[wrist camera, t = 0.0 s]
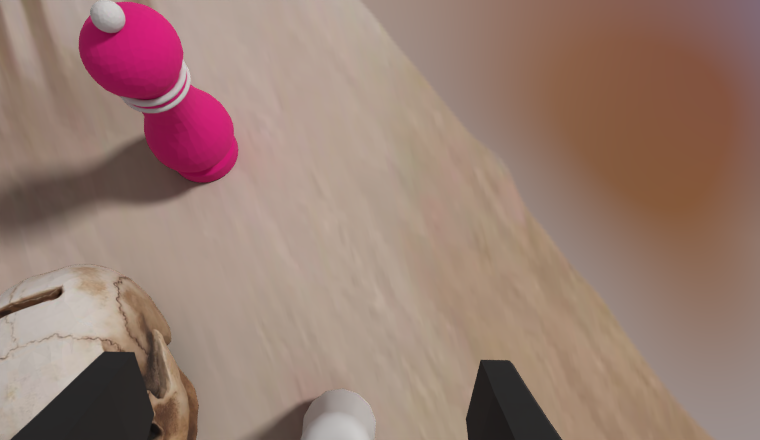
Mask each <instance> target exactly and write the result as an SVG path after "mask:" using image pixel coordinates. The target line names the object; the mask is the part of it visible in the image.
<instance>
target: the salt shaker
mask: <svg viewBox="0 0 760 440" xmlns="http://www.w3.org/2000/svg"><path fill="white" fill-rule="evenodd" d="M375 427H376V420H375V418H374V415H373V412H372V410H371V407H370V405H369V404H368V403H367V402H366V401H365V400H364V399H363V398H362V397H361V396H360V395H359V394H358V393H355V392H352V391H349V390H345V389H337V390H331V391H326V392H325V393H323V394H322V395H321V396H319V397H318V398H316V399H315V400H314V401H312V403H311V405H310V407H309V408H308V410H307V412H306V413H305V415H304V418H303V429H302V437H301V440H374V439H375Z"/></svg>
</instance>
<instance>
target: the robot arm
mask: <svg viewBox="0 0 760 440" xmlns="http://www.w3.org/2000/svg"><path fill="white" fill-rule="evenodd" d="M153 417H154V411H153V408H152V405H151V402H150V399H149V395H148V392H147V389H146V386H145V383H144V380H143V377H142V374H141V371H140V368H139V365H138V362H137V359H136V356H135V353H134V352H110V351H104V352H103V353H102V354H101V355H99V356H98V357H97V358H96V359H95V360H94V361H93V362H92V363H91V364H90V365H89V366H88V367H87V368H86V369H84V370H83V371H82V372H81V373H80V374H79V375H78V376H77V377H76V378H75V379H74V380H73V381H72V382H71V383H70V384H69V385H68V386H67V387H66V388H65V389H64V390H63V391H61V392H60V393H59V394H58V395H57V396H56V397H55V398H54V399H53V400H52V401H51V402H50V403H49V404H48V405H47V406H46V407H45V408H44V409H43V410H41V411H40V412H39V413H38V414H37V415H36V416H35V417H34V418H33V419H32V420H31V421H30V422H29V423H27V424H26V425H25V426H24V427H23V428H22V429H21V430H20V431H19V432H18V433H17V434H16V435H14V436H13V437H12V438H11V439H10V440H147V438H148V434H149V431H150V427H151V424H152V421H153ZM466 424H467V432H468V440H562V439H561V437H560V436H559V434H558V433H557V432H556V430H555V429H554V427H553V426H552V424H551V423H550V421H549V420H548V418H547V417H546V415H545V414H544V412H543V411H542V409H541V408H540V406H539V405H538V403H537V402H536V400H535V399H534V397H533V396H532V394H531V392H530V391H529V389H528V388H527V386H526V385H525V383H524V381H523V380H522V378H521V377H520V375H519V373H518V372H517V370H516V368H515V367H514V365H513V364H512V363H511V362H510V361H508V360H481V361H480V365H479V369H478V373H477V377H476V381H475V385H474V389H473V393H472V397H471V401H470V405H469V409H468V413H467V417H466Z"/></svg>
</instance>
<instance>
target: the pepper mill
mask: <svg viewBox="0 0 760 440" xmlns="http://www.w3.org/2000/svg"><path fill="white" fill-rule="evenodd" d="M79 52H80V57H81V59H82V62H83V64H84V66H85V68H86V70H87V71H88V73H89V74H90V75H91V77H92V78H93V79H94V80H95V81H96V82H97V83H98V84H99V85H101V86H102V87H103V88H104V89H106V90H107V91H109V92H111V93H113V94H116V95H118V96H120V97H121V98H122V99H123V101H124V102H125V103H126V104H127V105H128V106H130V107H131V108H133V109H135V110H137V111H139V112H142V113H143V114H144V116H145V117H144V132H145V136H146V140H147V143H148V146H149V147H150V149H151V151H152V152H153V153H154V155H155V156H156V157H157V159H158V160H159V161H160V162H162V163H163V164H164V165H166V166H167V167H169V168H171V169H174V170H176V171H178V173H179V174H180V175H182V176H183V177H184V178H186V179H188V180H190V181H194V182H211V181H215V180H217V179H220V178H221V177H223V176H224V175H226V174H227V173H228V172H229V171H230V170H231V169H232V167H233V166H234V164H235V162H236V160H237V156H238V145H237V141H236V139H235V137H234V128H233V123H232V121H231V118H230V116H229V114H228V113H227V111H226V110H225V108H224V107H223V106H222V104H221V103H220V102H219V101H217V100H216V99H215V98H214V97H212V96H211V95H210V94H208V93H206V92H204V91H202V90H199V89H197V88H195V87H193V86H192V85H190V82H191V77H190V73H189V69H188V67H187V66H186V64H185V63H184V60H183V49H182V45H181V41H180V39H179V37H178V35H177V33H176V31H175V29H174V28H173V27H172V25H171V24H170V23H169V22H168V21H167V20H166V19H165V18H164V17H163V16H162V15H161V14H159V13H158V12H157V11H155V10H153V9H152V8H150V7H148V6H145V5H142V4H138V3H133V2H117V3H114V2H112V1H109V0H100V1H97V2H96V3H95V4H94V5H92V8H91V10H90V16H89V17H88V19H87V20H86V21H85V23H84V25H83V27H82V29H81V31H80V36H79Z"/></svg>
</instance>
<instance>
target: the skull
mask: <svg viewBox="0 0 760 440" xmlns="http://www.w3.org/2000/svg"><path fill="white" fill-rule="evenodd" d="M170 342H171V332H170V328H169V326H168V324H167V322H166V320H165V318H164V317H163V315H162V314H161V312H160V311H159V310H158V308H157V307H156V305H155V304H154V302H153V301H152V299H151V297H150V296H149V295H148V294H147V293H146V292H145V291H144V290H143V289H142V288H141V287H140V286H138V285H137V284H136V283H135V282H133V281H132V280H131V279H130V278H128V277H126V276H124V275H122V274H121V273H119V272H117V271H114V270H111V269H109V268H106V267H102V266H98V265H93V264H84V265H72V266H68V267H65V268H62V269H58V270H55V271H52V272H48V273H44V274H41V275H37V276H33V277H30V278H27V279H25V280H23V281H22V282H20V283H18V284H16V285H15V286H13V287H11V288H9V289H8V290H6V291H5V292H4V293H2V294H1V295H0V440H10V439H11V438H12V437H13V436H14V435H16V434H17V433H18V432H19V431H20V430H21V429H22V428H23V427H24V426H25V425H26V424H27V423H29V422H30V421H31V420H32V419H33V418H34V417H35V416H36V415H37V414H38V413H39V412H40V411H41V410H43V409H44V408H45V407H46V406H47V405H48V404H49V403H50V402H51V401H52V400H53V399H54V398H55V397H56V396H57V395H58V394H59V393H60V392H61V391H63V390H64V389H65V388H66V387H67V386H68V385H69V384H70V383H71V382H72V381H73V380H74V379H75V378H76V377H77V376H78V375H79V374H80V373H81V372H82V371H83V370H84V369H86V368H87V367H88V366H89V365H90V364H91V363H92V362H93V361H94V360H95V359H96V358H97V357H98V356H99V355H101V354H102V353H103V352H104V351H110V352H134V353H135V356H136V359H137V362H138V365H139V368H140V371H141V374H142V377H143V380H144V383H145V386H146V389H147V392H148V395H149V399H150V402H151V405H152V408H153V411H154V417H153V421H152V424H151V427H150V431H149V434H148V438H147V440H196V436H197V416H198V406H199V405H198V401H197V396H196V392H195V388H194V387H193V385H192V383H191V382H190V381H189V379H188V378H187V377H186V376H185V374H184V373H183V372H182V371H181V370H180V368H179V367H178V366H177V364H176V362H175V360H174V358H173V356H172V355H171V353H170V351H169V349H168V347H167V345H168V344H169V343H170Z"/></svg>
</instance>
